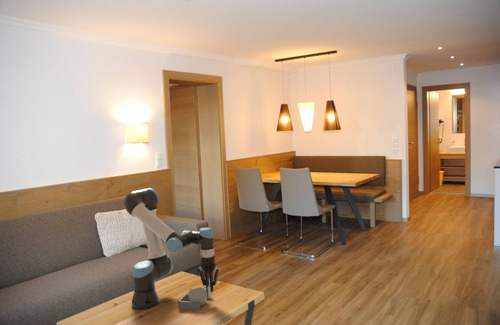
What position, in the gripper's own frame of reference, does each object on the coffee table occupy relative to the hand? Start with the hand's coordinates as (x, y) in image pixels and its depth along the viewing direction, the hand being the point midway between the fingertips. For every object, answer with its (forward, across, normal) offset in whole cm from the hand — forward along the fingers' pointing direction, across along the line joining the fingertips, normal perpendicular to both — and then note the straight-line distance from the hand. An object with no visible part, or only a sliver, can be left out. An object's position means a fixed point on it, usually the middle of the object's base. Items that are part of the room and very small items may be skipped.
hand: (210, 297), depth 227 cm
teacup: (+4, -6, 0) cm, 8 cm away
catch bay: (+4, -9, 0) cm, 10 cm away
